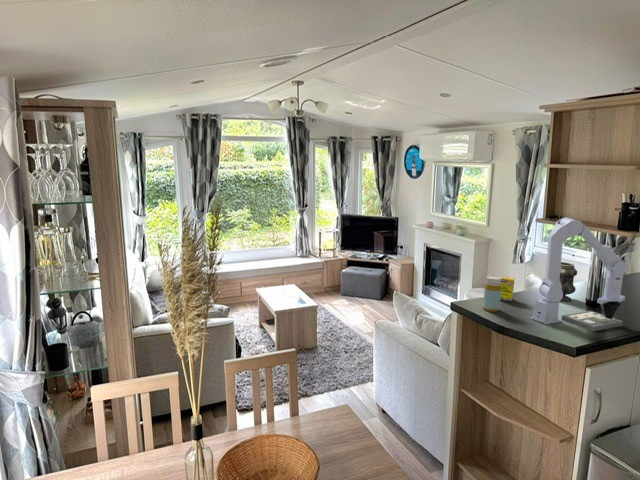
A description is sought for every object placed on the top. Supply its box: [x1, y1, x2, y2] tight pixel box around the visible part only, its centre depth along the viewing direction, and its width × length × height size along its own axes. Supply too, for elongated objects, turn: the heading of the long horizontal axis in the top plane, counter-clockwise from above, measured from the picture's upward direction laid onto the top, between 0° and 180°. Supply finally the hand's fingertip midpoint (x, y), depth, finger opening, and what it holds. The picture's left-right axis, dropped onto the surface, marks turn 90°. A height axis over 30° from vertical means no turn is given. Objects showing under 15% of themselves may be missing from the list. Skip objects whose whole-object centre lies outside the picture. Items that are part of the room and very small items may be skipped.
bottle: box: [482, 275, 501, 313], centre depth 199 cm, size 7×7×15 cm
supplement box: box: [500, 276, 515, 303], centre depth 214 cm, size 6×6×11 cm
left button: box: [582, 320, 596, 325], centre depth 180 cm, size 4×4×2 cm
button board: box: [561, 310, 623, 332], centre depth 185 cm, size 18×14×2 cm
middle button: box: [592, 316, 606, 323], centre depth 182 cm, size 4×4×2 cm
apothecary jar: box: [559, 261, 578, 302], centre depth 217 cm, size 12×12×18 cm
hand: (608, 318), depth 185 cm, fingers closed, pressing on right button
